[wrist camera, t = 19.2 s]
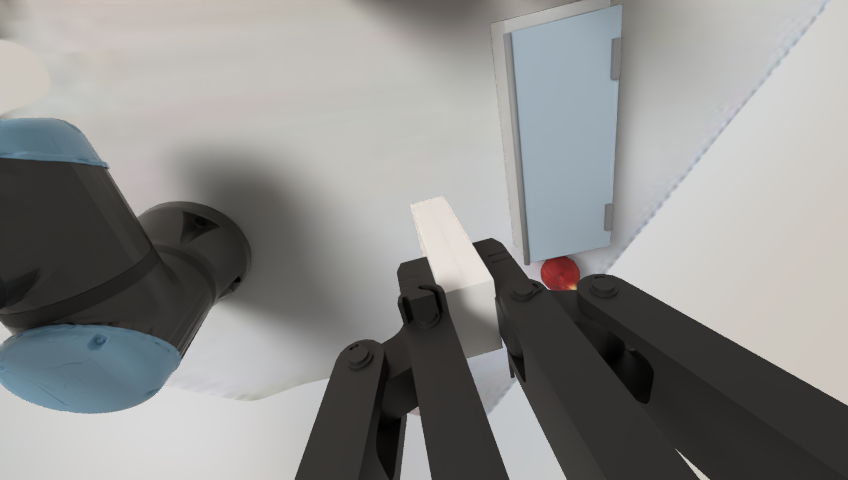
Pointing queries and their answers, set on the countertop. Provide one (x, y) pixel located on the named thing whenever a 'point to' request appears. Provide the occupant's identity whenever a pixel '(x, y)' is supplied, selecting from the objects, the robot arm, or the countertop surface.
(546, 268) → the onion
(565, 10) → the grey tray
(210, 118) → the countertop surface
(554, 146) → the cover
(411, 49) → the countertop surface
